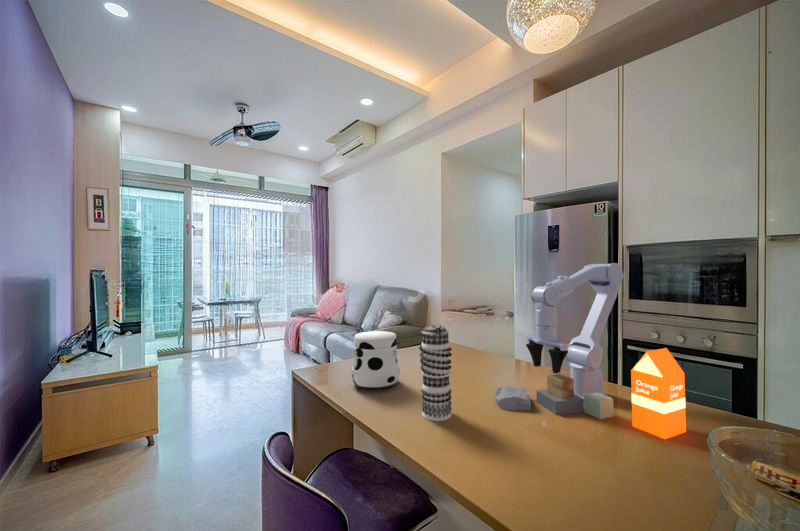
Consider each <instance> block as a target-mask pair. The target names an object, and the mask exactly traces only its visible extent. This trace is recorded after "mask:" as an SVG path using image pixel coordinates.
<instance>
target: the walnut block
mask: <svg viewBox="0 0 800 531" xmlns="http://www.w3.org/2000/svg"><path fill="white" fill-rule="evenodd" d="M547 389H548V393H549V394H552V395H554V396H557V397H559V398H561V399H562V398H566V397H571V396H574V379H573V378H571V377H570V376H567V375H564V374H560V373H555V374H552V375H547Z"/></svg>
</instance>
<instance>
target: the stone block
mask: <svg viewBox="0 0 800 531" xmlns="http://www.w3.org/2000/svg"><path fill="white" fill-rule="evenodd" d="M494 395H495V396H494V400H495V403H496V404H497V406H498V407H499V408H500V409H502V410H507V411H522V412H523V411H527V412H528V411H529V412H530V411H531V410H532V406H531V405H532V402H531V396H530V394H529V393H528V392H527V390H526V387H518V386H510V385H509V386H508V385H507V386H503V387H499V388H497V389H496V390H495V394H494Z"/></svg>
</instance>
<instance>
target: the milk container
mask: <svg viewBox="0 0 800 531" xmlns="http://www.w3.org/2000/svg"><path fill="white" fill-rule="evenodd" d="M397 354H398V345H397V335H396V333H395V332H391V331H385V330H372V331H363V332H358V333H356V334H354V338H353V362H352V365H351V366H352V367H351V378H352V382H353V384H354V385H355V386H357V387H358V388H360V389H361V388H362V389H365V390H380V389H381V390H382V389H386V388H390V387H392V386H395V385H396V384H397V383H398V381H399V379H400V373H401V372H400V370H401V369H400V364H399V360H398V357H397V356H398V355H397Z"/></svg>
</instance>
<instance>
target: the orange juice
mask: <svg viewBox="0 0 800 531" xmlns="http://www.w3.org/2000/svg"><path fill="white" fill-rule="evenodd" d="M633 366H634V367H633V368H632V369H630V379H631V380H630V382H631V383H630V384H631V387H630V388H631V416H632V417H631V419H632V420H631V422H632V424H631V425H632V428H633V427H634V428H636V429H638V430H640V431H643V432H644V433H645V432H646V433H648V434H651V435H653V436H656V437H658V438H660V439H662V440H667V439H670V438H673V437H675V436H679V435H682V434H684V433H687V423H686V422H687V418H686V416H687V415H686V413H687V412H686V408H687V406H686V386H685V385H686V384H685V381H686V380H685V372H684V371H683V369H682V367H681V366H680V365H679V363H678V362H677V360H676V359H675V358H674V356H673V354H671V352H670V351H669V349H668V348H667V347H664V348H658V349H653V350H647V351H645V353H644V355H642V357H641V358H640V359H639V361H638V362H636V364H635V365H633Z"/></svg>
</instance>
